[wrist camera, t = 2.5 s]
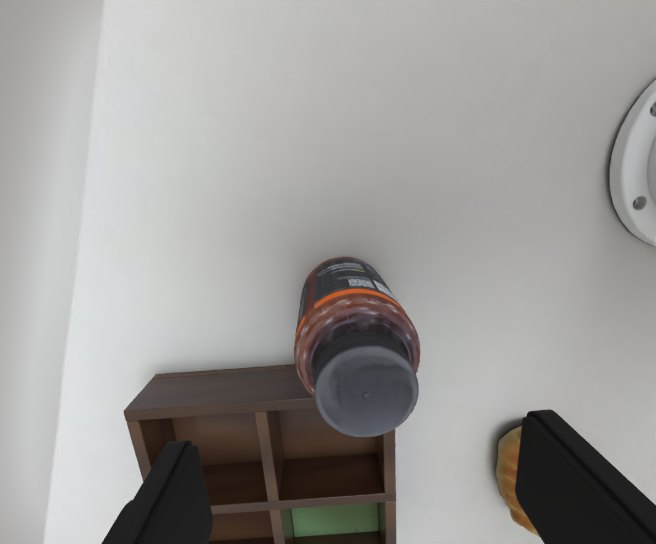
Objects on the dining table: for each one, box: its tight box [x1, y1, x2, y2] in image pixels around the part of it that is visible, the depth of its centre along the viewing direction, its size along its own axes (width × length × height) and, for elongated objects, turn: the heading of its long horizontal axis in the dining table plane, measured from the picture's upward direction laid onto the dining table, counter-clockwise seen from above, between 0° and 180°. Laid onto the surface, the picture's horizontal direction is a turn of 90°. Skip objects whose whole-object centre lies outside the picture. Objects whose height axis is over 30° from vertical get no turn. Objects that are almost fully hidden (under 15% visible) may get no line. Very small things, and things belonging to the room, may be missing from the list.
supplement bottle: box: [294, 257, 420, 437], centre depth 17 cm, size 6×6×11 cm
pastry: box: [496, 426, 540, 537], centre depth 25 cm, size 9×7×4 cm
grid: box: [124, 365, 396, 544], centre depth 24 cm, size 17×17×4 cm
